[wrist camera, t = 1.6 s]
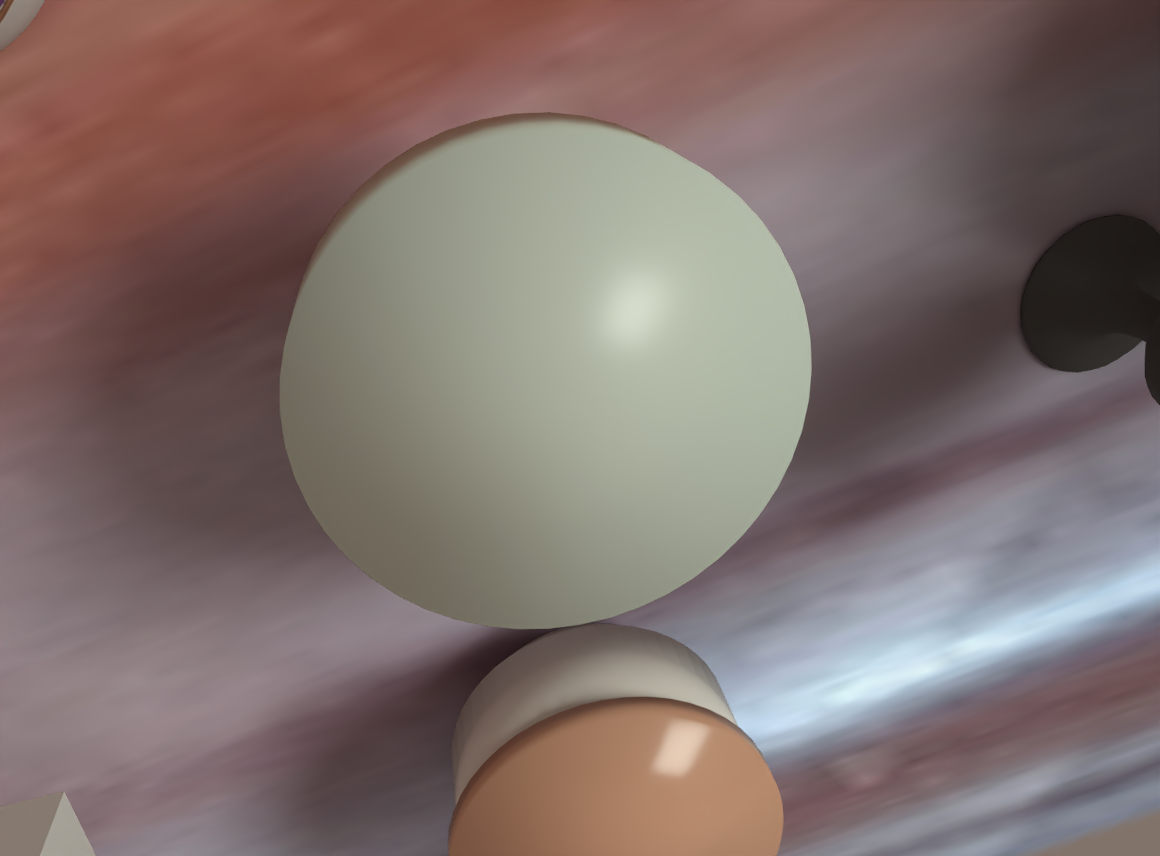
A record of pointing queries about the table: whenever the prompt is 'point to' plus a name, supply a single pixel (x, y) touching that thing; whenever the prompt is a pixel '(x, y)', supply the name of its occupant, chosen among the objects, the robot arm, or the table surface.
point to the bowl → (607, 755)
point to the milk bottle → (16, 18)
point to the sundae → (1097, 298)
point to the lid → (542, 372)
